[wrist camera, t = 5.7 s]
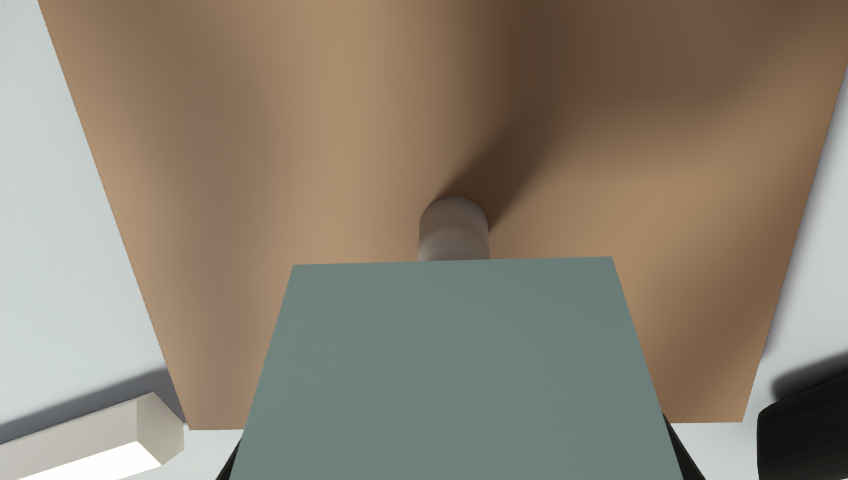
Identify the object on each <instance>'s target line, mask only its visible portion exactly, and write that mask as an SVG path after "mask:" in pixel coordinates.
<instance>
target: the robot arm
mask: <svg viewBox="0 0 848 480" xmlns="http://www.w3.org/2000/svg"><path fill="white" fill-rule="evenodd" d="M662 415H663V418H664V421H665V424H666V427H667V430H668V433H669V436H670V439H671V443H672V446H673V449H674V452H675V455H676V458H677V461H678V464H679V468H680V471H681V474H682V477H683V480H706V479H705V478H704V476H703V475H702V473H701V472H700V470H699V469H698V467H697V466H696V464H695V463H694V461H693V460H692V458H691V457H690V455H689V453H688V452H687V450H686V449H685V447H684V446H683V444H682V443H681V441H680V439H679V438H678V436H677V434H676V433H675V431H674V430H673V428H672V426H671V425H670V423H669V421H668V420H667V418H666V416H665V414H664V413H662ZM241 438H242V437H241ZM240 442H241V439H240V441H239V442H238V444H237V446H236V447H235V449H234V451H233V452H232V454H231V456H230V457H229V459H228V461H227V462H226V464H225V466H224V467H223V469H222V470H221V472H220V474H219V475H218V477H217V478H216V480H229V478H230V475H231V472H232V468H233V465H234V462H235V458H236V455H237V452H238V448H239V445H240Z"/></svg>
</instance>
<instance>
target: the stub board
mask: <svg viewBox="0 0 848 480" xmlns="http://www.w3.org/2000/svg"><path fill="white" fill-rule="evenodd" d="M38 3H39V6H40V9H41V12H42V15H43V17H44V20H45V23H46V26H47V29H48V32H49V34H50V37H51V40H52V43H53V46H54V49H55V51H56V54H57V57H58V60H59V63H60V65H61V68H62V71H63V74H64V77H65V80H66V82H67V85H68V88H69V91H70V94H71V97H72V99H73V102H74V105H75V108H76V111H77V114H78V116H79V119H80V122H81V125H82V128H83V130H84V133H85V136H86V139H87V142H88V145H89V147H90V150H91V153H92V156H93V159H94V162H95V164H96V167H97V170H98V173H99V176H100V178H101V181H102V184H103V187H104V190H105V193H106V195H107V198H108V201H109V204H110V207H111V210H112V212H113V215H114V218H115V221H116V224H117V227H118V229H119V232H120V235H121V238H122V241H123V243H124V246H125V249H126V252H127V255H128V258H129V260H130V263H131V266H132V269H133V272H134V275H135V277H136V280H137V283H138V286H139V289H140V292H141V294H142V297H143V300H144V303H145V306H146V308H147V311H148V314H149V317H150V320H151V323H152V325H153V328H154V331H155V334H156V337H157V340H158V342H159V345H160V348H161V351H162V354H163V357H164V359H165V362H166V365H167V368H168V371H169V373H170V376H171V379H172V382H173V385H174V388H175V390H176V393H177V396H178V399H179V402H180V405H181V407H182V410H183V413H184V416H185V419H186V421H187V424H188V427H189V430H232V429H244V428H245V425H246V422H247V418H248V415H249V411H250V408H251V405H252V401H253V398H254V395H255V391H256V388H257V385H258V381H259V378H260V375H261V371H262V368H263V365H264V361H265V358H266V355H267V351H268V348H269V345H270V341H271V338H272V335H273V331H274V328H275V325H276V321H277V318H278V315H279V311H280V308H281V305H282V301H283V298H284V294H285V291H286V288H287V284H288V281H289V278H290V274H291V271H292V268H293V265H300V264H338V263H375V262H413V261H451V260H489V259H527V258H565V257H603V256H612V258H613V261H614V265H615V268H616V271H617V274H618V277H619V280H620V283H621V286H622V290H623V293H624V296H625V299H626V302H627V305H628V308H629V311H630V315H631V318H632V321H633V324H634V327H635V330H636V333H637V336H638V340H639V343H640V346H641V349H642V352H643V355H644V358H645V361H646V365H647V368H648V371H649V374H650V377H651V380H652V383H653V386H654V390H655V393H656V396H657V399H658V402H659V405H660V408H661V411H662V413H664V414H665V416H666V418H667V420H668V421H669V423H715V422H742V420H743V417H744V413H745V410H746V406H747V403H748V400H749V396H750V393H751V389H752V386H753V383H754V379H755V376H756V372H757V369H758V366H759V362H760V359H761V355H762V352H763V349H764V345H765V342H766V338H767V335H768V332H769V328H770V325H771V321H772V318H773V315H774V311H775V308H776V304H777V301H778V298H779V294H780V291H781V287H782V284H783V281H784V277H785V274H786V270H787V267H788V264H789V260H790V257H791V253H792V250H793V247H794V243H795V240H796V236H797V233H798V230H799V226H800V223H801V219H802V216H803V213H804V209H805V206H806V202H807V199H808V196H809V192H810V189H811V185H812V182H813V179H814V175H815V172H816V168H817V165H818V162H819V158H820V155H821V151H822V148H823V145H824V141H825V138H826V134H827V131H828V128H829V124H830V121H831V117H832V114H833V111H834V107H835V104H836V100H837V97H838V94H839V90H840V87H841V83H842V80H843V77H844V73H845V70H846V66H847V63H848V0H38Z"/></svg>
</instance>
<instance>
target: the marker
mask: <svg viewBox="0 0 848 480" xmlns="http://www.w3.org/2000/svg"><path fill="white" fill-rule="evenodd" d="M183 450H184V430H183V422H182V421H181V420H180V419H179V418H178V417H177V416H176V415H175V414H174V413H173V412H172V411H171V410H170V409H169V407H168V406H167V405H166V404H165V403H164V402H163V401H162V400H161V399H160V398H159V397H158V396H157V395H156V394H155V393H154V392H151V393H148V394H145V395H142V396H139V397H137V398H134V399H131V400H128V401H125V402H122V403H119V404H116V405H113V406H110V407H108V408H105V409H102V410H99V411H96V412H93V413H90V414H87V415H84V416H82V417H79V418H76V419H73V420H70V421H67V422H64V423H61V424H58V425H55V426H53V427H50V428H47V429H44V430H41V431H38V432H35V433H32V434H29V435H26V436H24V437H21V438H18V439H15V440H12V441H9V442H6V443H3V444H0V480H117V479H120V478H123V477H126V476H130V475H133V474H136V473H139V472H142V471H146V470H149V469H152V468H155V467H159V466H162V465H163V464H165V463H166V462H167V461H169V460H170V459H172V458H173V457H174V456H176V455H177V454H179V453H180V452H181V451H183Z"/></svg>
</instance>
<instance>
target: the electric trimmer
mask: <svg viewBox="0 0 848 480" xmlns="http://www.w3.org/2000/svg"><path fill="white" fill-rule="evenodd" d="M757 466H758V474H759V480H842V479H846V478H848V374H845V375H843V376H840V377H838V378H835V379H833V380H830V381H828V382H825V383H823V384H820V385H818V386H816V387H813V388H811V389H808V390H806V391H803V392H801V393H798V394H796V395H793V396H791V397H788V398H786V399H783V400H781V401H778V402H776V403H773V404H771V405H769V406H768V407H766V408H765V409H763V410H762V411H761V412H760V413H759V415H758V420H757Z"/></svg>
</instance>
